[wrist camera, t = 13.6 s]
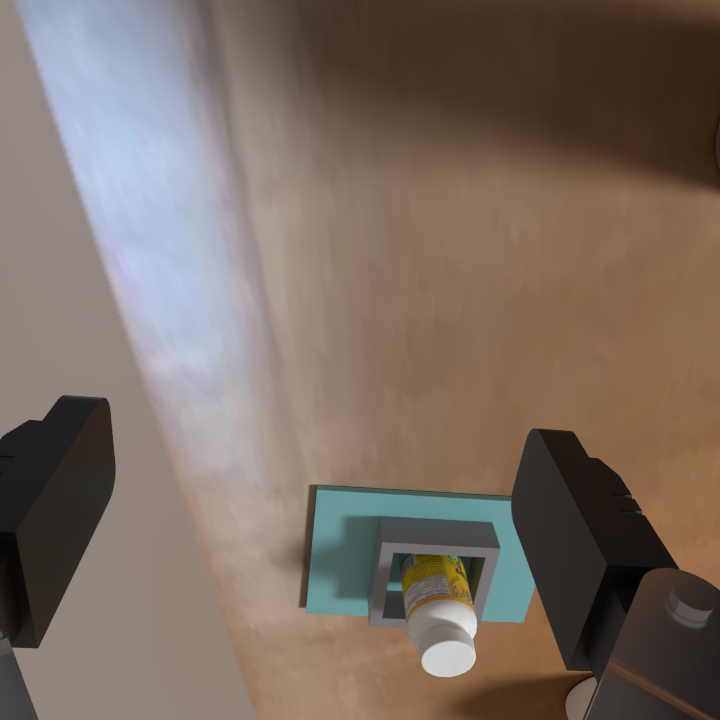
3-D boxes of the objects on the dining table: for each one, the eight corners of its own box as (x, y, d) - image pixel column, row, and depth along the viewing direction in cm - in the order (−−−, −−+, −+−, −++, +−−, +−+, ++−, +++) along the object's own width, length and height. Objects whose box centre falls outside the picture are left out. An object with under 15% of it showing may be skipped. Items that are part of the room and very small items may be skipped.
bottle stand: (558, 499, 52) (573, 530, 49) (521, 617, 58) (532, 651, 55) (317, 485, 50) (316, 515, 47) (306, 607, 57) (304, 642, 53)
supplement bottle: (393, 543, 53) (404, 642, 44) (456, 531, 52) (479, 627, 44) (405, 588, 55) (418, 689, 47) (465, 576, 55) (490, 676, 46)
